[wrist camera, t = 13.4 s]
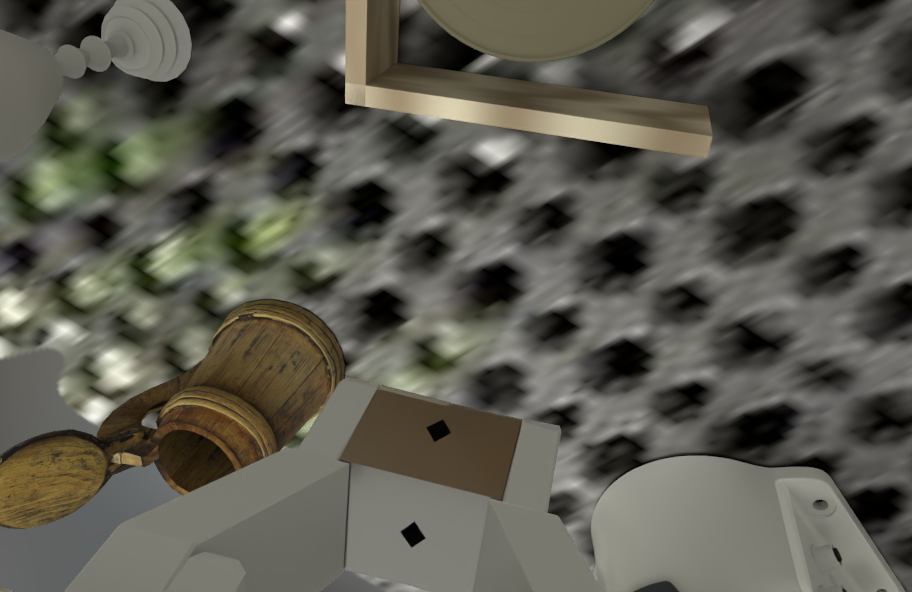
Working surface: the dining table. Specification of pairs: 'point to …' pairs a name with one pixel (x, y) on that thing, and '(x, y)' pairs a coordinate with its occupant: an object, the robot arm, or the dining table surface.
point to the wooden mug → (187, 417)
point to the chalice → (87, 63)
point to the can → (534, 25)
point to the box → (507, 95)
